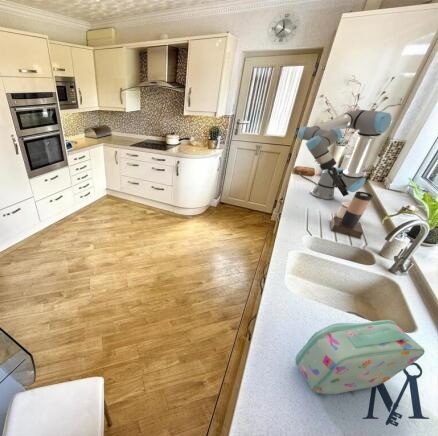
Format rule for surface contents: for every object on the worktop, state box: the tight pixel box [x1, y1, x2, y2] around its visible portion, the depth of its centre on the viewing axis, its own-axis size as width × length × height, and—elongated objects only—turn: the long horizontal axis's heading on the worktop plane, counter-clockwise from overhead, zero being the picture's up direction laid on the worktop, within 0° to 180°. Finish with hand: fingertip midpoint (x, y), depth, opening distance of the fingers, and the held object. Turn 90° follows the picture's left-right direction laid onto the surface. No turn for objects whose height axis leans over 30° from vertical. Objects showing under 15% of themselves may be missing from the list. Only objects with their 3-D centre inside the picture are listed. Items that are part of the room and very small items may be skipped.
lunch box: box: [294, 319, 426, 396], centre depth 64 cm, size 27×10×21 cm, turn 99°
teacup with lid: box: [335, 200, 352, 218], centre depth 156 cm, size 12×9×12 cm
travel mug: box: [341, 190, 374, 227], centre depth 136 cm, size 8×8×20 cm
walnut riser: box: [330, 215, 364, 239], centre depth 143 cm, size 14×14×4 cm
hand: (345, 191), depth 136 cm, fingers open, 13 cm apart
